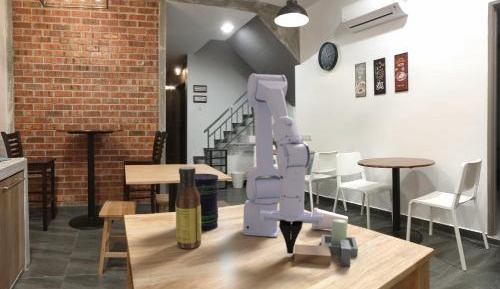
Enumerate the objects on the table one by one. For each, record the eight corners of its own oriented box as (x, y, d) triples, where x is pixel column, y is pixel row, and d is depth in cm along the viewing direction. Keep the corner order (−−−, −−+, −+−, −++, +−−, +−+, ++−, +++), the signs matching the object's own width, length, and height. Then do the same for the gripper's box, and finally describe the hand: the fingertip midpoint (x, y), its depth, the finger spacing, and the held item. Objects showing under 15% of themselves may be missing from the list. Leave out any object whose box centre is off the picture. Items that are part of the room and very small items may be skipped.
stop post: (340, 266, 80) (341, 248, 80) (339, 255, 86) (340, 239, 86) (350, 266, 80) (350, 249, 80) (348, 256, 86) (348, 240, 86)
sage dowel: (330, 243, 93) (331, 218, 93) (344, 244, 93) (346, 219, 92) (331, 248, 90) (332, 223, 89) (346, 249, 89) (347, 223, 89)
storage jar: (204, 233, 101) (205, 180, 100) (177, 227, 106) (177, 176, 104) (224, 224, 109) (225, 175, 108) (198, 219, 114) (198, 172, 113)
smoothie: (349, 207, 104) (300, 200, 108) (347, 223, 99) (296, 215, 103) (347, 223, 108) (300, 216, 112) (345, 239, 103) (296, 231, 107)
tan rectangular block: (294, 264, 82) (294, 253, 82) (294, 254, 88) (294, 244, 88) (330, 266, 81) (330, 255, 81) (328, 256, 87) (328, 246, 87)
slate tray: (321, 253, 88) (321, 245, 88) (321, 241, 96) (321, 234, 96) (357, 256, 86) (357, 248, 86) (354, 244, 95) (354, 237, 94)
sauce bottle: (191, 239, 96) (192, 164, 94) (206, 245, 92) (207, 167, 90) (170, 245, 91) (170, 166, 90) (184, 252, 87) (184, 170, 85)
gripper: (258, 196, 82) (257, 255, 83) (323, 200, 79) (321, 261, 80) (263, 190, 89) (262, 244, 90) (323, 194, 86) (321, 250, 87)
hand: (290, 252), depth 85 cm, fingers closed
